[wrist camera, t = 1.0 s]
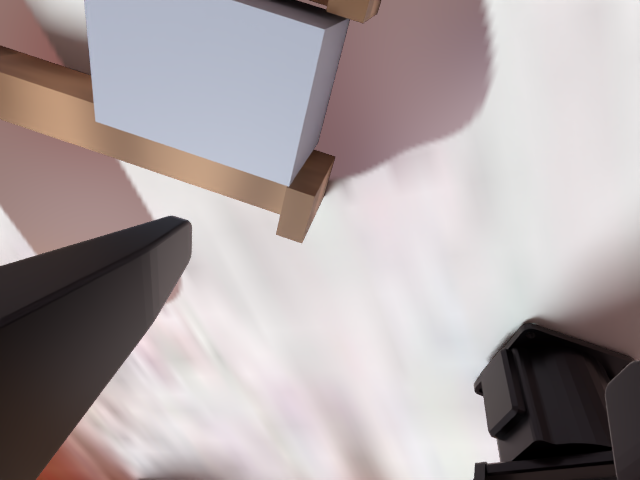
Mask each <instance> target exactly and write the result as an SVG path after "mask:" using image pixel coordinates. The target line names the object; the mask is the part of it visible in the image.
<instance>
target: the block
mask: <svg viewBox="0 0 640 480" xmlns="http://www.w3.org/2000/svg"><path fill="white" fill-rule="evenodd" d="M84 3H85V14H86V24H87V35H88V46H89V57H90V67H91V78H92V89H93V100H94V111H95V121H96V122H98V123H101V124H104V125H107V126H110V127H113V128H116V129H119V130H122V131H125V132H128V133H131V134H134V135H137V136H140V137H143V138H146V139H149V140H152V141H155V142H158V143H161V144H164V145H167V146H170V147H173V148H176V149H179V150H182V151H185V152H188V153H190V154H193V155H196V156H199V157H202V158H205V159H208V160H211V161H214V162H217V163H220V164H223V165H226V166H229V167H232V168H235V169H238V170H241V171H244V172H247V173H250V174H253V175H256V176H259V177H262V178H265V179H268V180H271V181H274V182H277V183H280V184H283V185H285V186H288V187H289V186H290V184H291V183H292V181H293V180H294V178H295V177H296V175H297V174H298V172H299V171H300V169H301V168H302V166H303V165H304V163H305V162H306V160H307V159H308V157H309V156H310V154H311V153H312V151H313V150H314V148H315V147H316V145H317V143H318V141H319V137H320V133H321V129H322V126H323V122H324V118H325V114H326V110H327V106H328V102H329V99H330V95H331V91H332V87H333V83H334V79H335V75H336V71H337V68H338V64H339V60H340V56H341V52H342V48H343V44H344V40H345V37H346V33H347V29H348V25H349V21H350V19H348V18H345V17H341V16H338V15H335V14H332V13H329V12H326V9H323V8H319V7H316V6H313V5H310V4H307V3H303V2H300V1H297V0H84Z"/></svg>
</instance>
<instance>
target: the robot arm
mask: <svg viewBox="0 0 640 480" xmlns="http://www.w3.org/2000/svg"><path fill="white" fill-rule="evenodd" d="M191 252H192V225H191V223H190V222H189V221H188V220H185V219H182V218H179V217H176V216H168V217H164V218H161V219H157V220H154V221H151V222H147V223H144V224H141V225H137V226H134V227H131V228H127V229H124V230H121V231H118V232H114V233H111V234H107V235H104V236H100V237H97V238H94V239H91V240H87V241H84V242H80V243H77V244H73V245H70V246H67V247H63V248H60V249H57V250H53V251H50V252H46V253H43V254H40V255H36V256H33V257H30V258H26V259H23V260H19V261H16V262H13V263H9V264H6V265H3V266H0V480H36V479H37V477H38V476H39V475H40V473H41V472H42V471H43V469H44V468H45V467H46V465H47V464H48V463H49V461H50V460H51V459H52V457H53V456H54V455H55V453H56V452H57V451H58V449H59V448H60V447H61V445H62V444H63V443H64V441H65V440H66V439H67V437H68V436H69V435H70V433H71V432H72V431H73V429H74V428H75V427H76V425H77V424H78V423H79V421H80V420H81V419H82V417H83V416H84V415H85V413H86V412H87V411H88V409H89V408H90V407H91V405H92V404H93V403H94V401H95V400H96V399H97V397H98V396H99V395H100V393H101V392H102V391H103V389H104V388H105V387H106V385H107V384H108V383H109V381H110V380H111V379H112V377H113V376H114V375H115V373H116V372H117V371H118V369H119V368H120V367H121V365H122V364H123V363H124V361H125V360H126V359H127V357H128V356H129V355H130V353H131V352H132V351H133V349H134V348H135V347H136V345H137V344H138V343H139V341H140V340H141V339H142V337H143V336H144V335H145V333H146V332H147V331H148V329H149V328H150V326H151V325H152V324H153V322H154V321H155V319H156V317H157V316H158V314H159V313H160V311H161V309H162V308H163V306H164V304H165V302H166V301H167V299H168V297H169V295H170V294H171V292H172V290H173V288H174V287H175V285H176V284H177V282H178V280H179V278H180V277H181V275H182V273H183V272H184V270H185V268H186V266H187V265H188V263H189V261H190V258H191ZM528 332H532V333H528ZM474 389H475V392H476V393H477V394H478V395H481V396H483V397H484V404H485V411H486V418H487V425H488V431H489V433H490V435H491V437H494V438H496V439H497V444H498V450H499V457H500V462H498V463H489V464H487V462H480V463H475V473H474V479H473V480H640V360H634V359H633V358H631V357H629V356H626V355H623V354H620V353H617V352H614V351H611V350H608V349H605V348H602V347H599V346H597V345H594V344H591V343H588V342H585V341H582V340H579V339H576V338H573V337H570V336H567V335H564V334H562V333H559V332H556V331H553V330H550V329H547V328H544V327H541V326H538V325H535V324H531V323H529V324H524V325H522V326H521V327H520V328H519V330H518V331H517V332H516V333H515V334H514V336H513V337H512V338H511V339H510V340H509V342H508V343H507V344H506V345H505V347H504V348H503V349H501V350H499V351H498V353H497V354H496V355H495V356H494V358H493V359H492V360H491V361H490V362H489V364H488V365H487V366H486V367H485V369H484V370H483V371H482V372H481V374H480V377H479V378H478V379H477V380H476V382H475V383H474Z"/></svg>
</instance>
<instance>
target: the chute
mask: <svg viewBox="0 0 640 480" xmlns="http://www.w3.org/2000/svg"><path fill="white" fill-rule="evenodd" d="M310 1H313V2H316V3H319V4H323V5H326V6H327V10H326V12H329V13H332V14H335V15H338V16H341V17H345V18H348V19H351V20H354V21H358V22H361V23H364V22H366V21H367V20H369V19H370V18H372V17H373V16H375V15H376V14H377V13H378V10H379V6H380V3H381V0H310ZM0 119H1V120H4V121H7V122H10V123H13V124H16V125H19V126H22V127H25V128H28V129H30V130H33V131H36V132H39V133H43V134H45V135H48V136H51V137H54V138H57V139H60V140H63V141H66V142H69V143H72V144H75V145H78V146H80V147H83V148H87V149H89V150H93V151H95V152H98V153H101V154H104V155H107V156H110V157H113V158H116V159H119V160H122V161H125V162H127V163H130V164H133V165H136V166H139V167H142V168H145V169H148V170H151V171H154V172H157V173H160V174H163V175H166V176H169V177H172V178H174V179H177V180H180V181H183V182H186V183H189V184H192V185H195V186H198V187H201V188H204V189H207V190H210V191H213V192H216V193H219V194H222V195H224V196H227V197H230V198H233V199H236V200H239V201H242V202H245V203H248V204H251V205H254V206H257V207H260V208H263V209H266V210H269V211H271V212H274V213H277V214H280V219H279V223H278V228H277V232H276V235H279V236H282V237H285V238H288V239H290V240H293V241H296V242H299V243H302V242H303V240H304V238H305V236H306V234H307V232H308V229H309V227H310V225H311V223H312V221H313V219H314V217H315V215H316V212H317V210H318V208H319V206H320V204H321V202H322V200H323V197H324V194H325V190H326V187H327V184H328V180H329V177H330V173H331V170H332V166H333V163H334V160H335V156H332V155H329V154H326V153H323V152H320V151H316V150H313V151H312V153H311V154H310V156H309V157H308V159H307V160H306V162H305V163H304V165H303V166H302V168H301V169H300V171H299V172H298V174H297V175H296V177H295V178H294V180H293V181H292V183H291V184H290V186H289V187H288V186H285V185H283V184H280V183H277V182H274V181H271V180H268V179H265V178H262V177H259V176H256V175H253V174H250V173H247V172H244V171H241V170H238V169H235V168H232V167H229V166H226V165H223V164H220V163H217V162H214V161H211V160H208V159H205V158H202V157H199V156H196V155H193V154H190V153H188V152H185V151H182V150H179V149H176V148H173V147H170V146H167V145H164V144H161V143H158V142H155V141H152V140H149V139H146V138H143V137H140V136H137V135H134V134H131V133H128V132H125V131H122V130H119V129H116V128H113V127H110V126H107V125H104V124H101V123H98V122H96V121H95V111H94V100H93V89H92V78H91V75H88V74H85V73H82V72H79V71H76V70H73V69H70V68H67V67H64V66H61V65H58V64H55V63H51V62H49V61H45V60H43V59H39V58H36V57H33V56H30V55H27V54H24V53H21V52H18V51H15V50H12V49H9V48H6V47H3V46H0Z"/></svg>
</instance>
